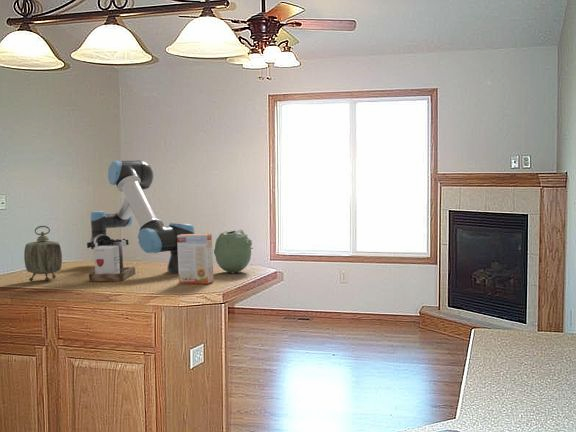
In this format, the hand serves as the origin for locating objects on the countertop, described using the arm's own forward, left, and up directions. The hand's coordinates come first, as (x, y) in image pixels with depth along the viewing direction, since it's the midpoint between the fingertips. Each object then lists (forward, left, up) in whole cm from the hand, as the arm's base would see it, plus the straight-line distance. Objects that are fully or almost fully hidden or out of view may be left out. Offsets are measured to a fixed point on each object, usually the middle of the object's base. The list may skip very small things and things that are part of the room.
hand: (111, 244), depth 327 cm
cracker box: (-48, +40, -13) cm, 63 cm away
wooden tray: (-6, +19, -13) cm, 24 cm away
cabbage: (-61, +13, -13) cm, 63 cm away
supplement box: (-5, +24, -13) cm, 28 cm away
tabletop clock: (+24, +23, -13) cm, 36 cm away
